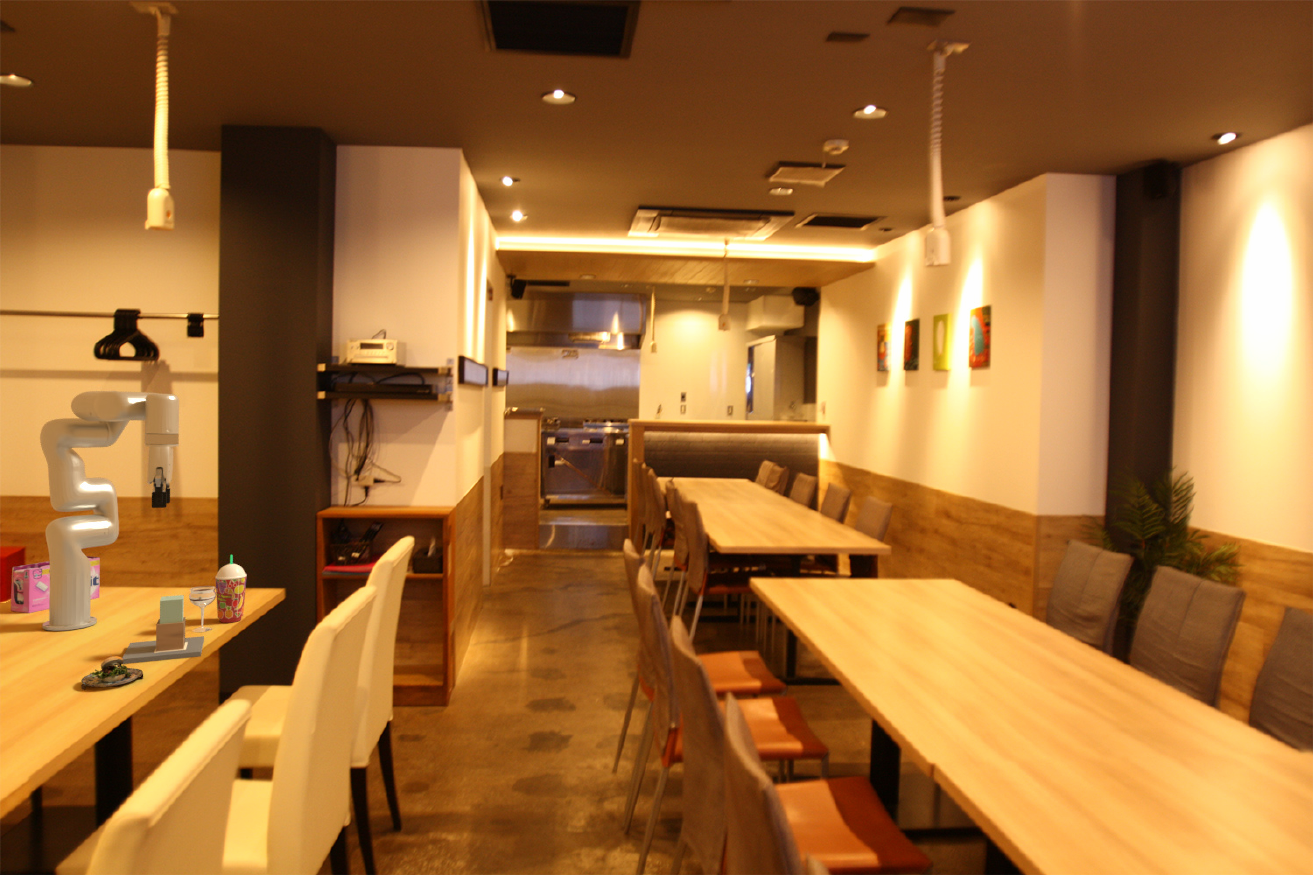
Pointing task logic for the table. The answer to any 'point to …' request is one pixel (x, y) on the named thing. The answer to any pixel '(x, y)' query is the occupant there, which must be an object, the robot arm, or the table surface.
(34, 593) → the gum box
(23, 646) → the table surface
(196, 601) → the wineglass
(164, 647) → the walnut block
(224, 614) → the smoothie
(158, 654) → the slate board
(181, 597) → the teal block
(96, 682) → the burger
